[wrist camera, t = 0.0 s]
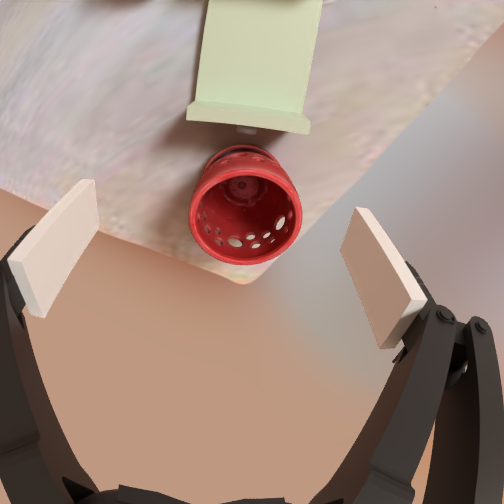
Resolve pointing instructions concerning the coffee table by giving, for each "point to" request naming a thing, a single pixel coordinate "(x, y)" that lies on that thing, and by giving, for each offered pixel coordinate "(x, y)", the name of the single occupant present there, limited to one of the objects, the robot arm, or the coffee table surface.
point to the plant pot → (244, 206)
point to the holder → (256, 64)
